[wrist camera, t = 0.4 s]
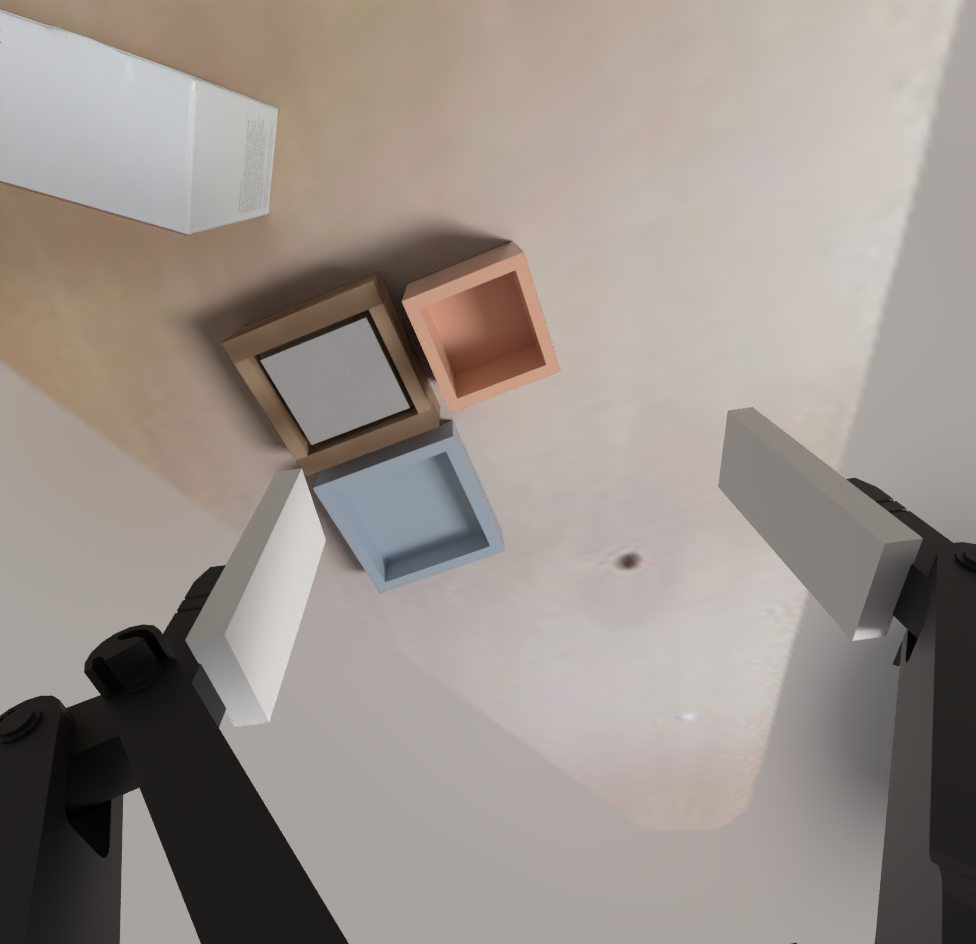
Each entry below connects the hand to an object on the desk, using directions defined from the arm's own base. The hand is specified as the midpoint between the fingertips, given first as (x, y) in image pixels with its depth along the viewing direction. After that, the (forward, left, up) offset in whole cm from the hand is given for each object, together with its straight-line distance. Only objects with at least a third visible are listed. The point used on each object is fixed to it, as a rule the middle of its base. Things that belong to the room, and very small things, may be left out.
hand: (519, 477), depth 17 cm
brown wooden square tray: (+1, -11, -26) cm, 28 cm away
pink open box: (+1, 0, -26) cm, 26 cm away
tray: (+14, -11, -26) cm, 31 cm away
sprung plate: (+1, -11, -23) cm, 26 cm away
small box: (-15, -12, -26) cm, 32 cm away
